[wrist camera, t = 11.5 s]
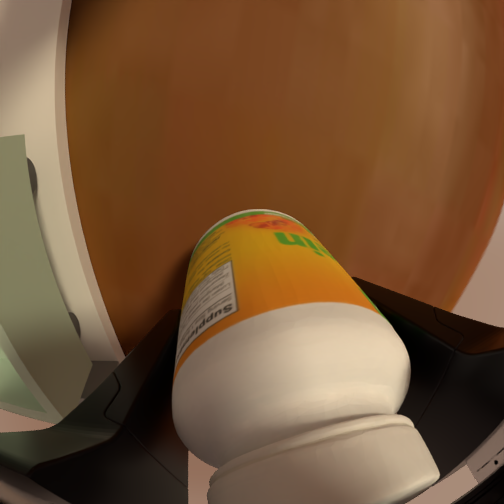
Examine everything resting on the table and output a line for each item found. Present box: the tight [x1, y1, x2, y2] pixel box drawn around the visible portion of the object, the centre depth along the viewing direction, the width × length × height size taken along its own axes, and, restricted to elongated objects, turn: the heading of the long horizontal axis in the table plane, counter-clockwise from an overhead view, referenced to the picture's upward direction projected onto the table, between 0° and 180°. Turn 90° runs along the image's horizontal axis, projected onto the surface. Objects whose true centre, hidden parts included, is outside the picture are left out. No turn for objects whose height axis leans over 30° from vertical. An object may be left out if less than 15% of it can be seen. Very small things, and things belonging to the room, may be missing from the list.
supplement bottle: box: [172, 209, 440, 504], centre depth 7 cm, size 5×5×10 cm
